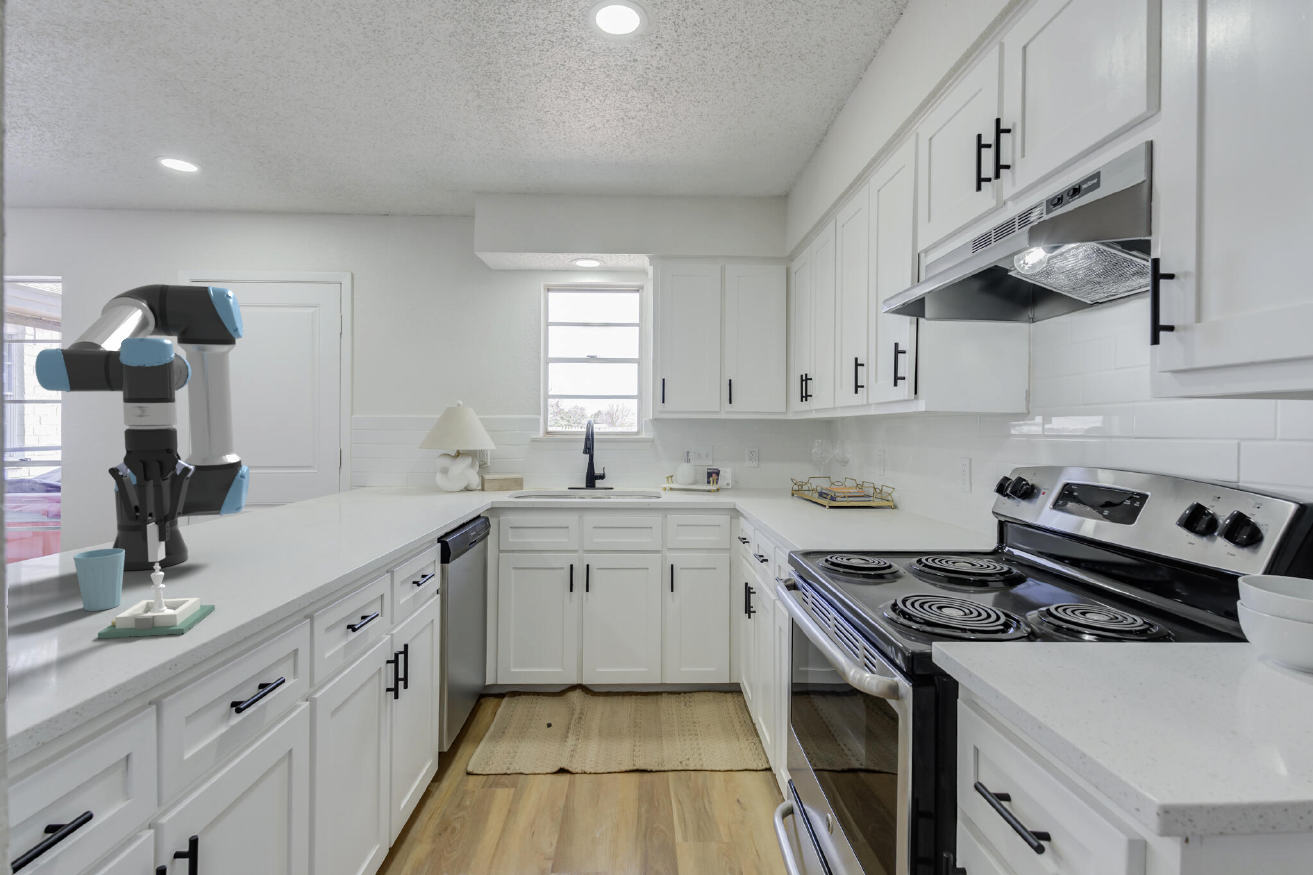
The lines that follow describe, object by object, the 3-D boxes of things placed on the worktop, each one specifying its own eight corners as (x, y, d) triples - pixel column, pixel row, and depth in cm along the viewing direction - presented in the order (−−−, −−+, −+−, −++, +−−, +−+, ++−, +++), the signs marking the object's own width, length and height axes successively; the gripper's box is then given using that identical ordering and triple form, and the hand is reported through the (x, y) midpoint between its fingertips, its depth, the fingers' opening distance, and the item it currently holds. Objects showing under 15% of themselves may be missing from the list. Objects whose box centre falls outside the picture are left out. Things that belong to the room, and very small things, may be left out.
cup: (121, 610, 134) (118, 555, 133) (70, 615, 131) (67, 559, 130) (132, 598, 141) (129, 546, 140) (84, 603, 138) (81, 550, 137)
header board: (137, 613, 132) (136, 597, 132) (214, 609, 135) (214, 594, 135) (98, 638, 120) (97, 621, 119) (184, 634, 122) (183, 617, 122)
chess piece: (150, 624, 124) (147, 568, 123) (137, 618, 127) (134, 563, 126) (181, 616, 128) (178, 561, 127) (168, 611, 131) (165, 558, 130)
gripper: (96, 428, 119) (103, 566, 121) (182, 428, 122) (188, 563, 124) (120, 425, 127) (126, 555, 129) (201, 425, 129) (206, 553, 131)
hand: (157, 559), depth 126 cm, fingers closed
